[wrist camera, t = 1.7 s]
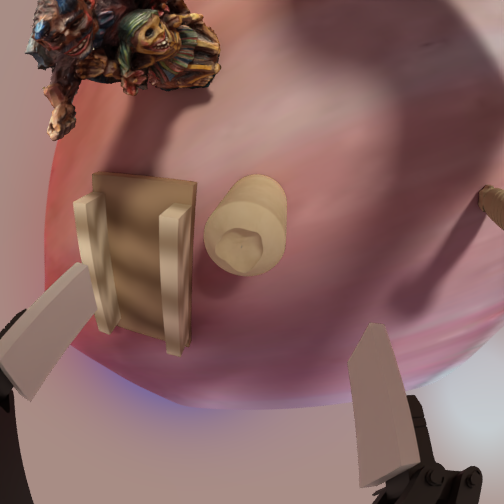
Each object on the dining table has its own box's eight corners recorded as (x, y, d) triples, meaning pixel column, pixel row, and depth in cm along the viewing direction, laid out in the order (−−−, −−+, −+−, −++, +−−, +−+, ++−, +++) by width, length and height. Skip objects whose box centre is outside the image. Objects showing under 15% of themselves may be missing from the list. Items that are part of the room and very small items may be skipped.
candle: (287, 228, 26) (285, 289, 18) (231, 229, 27) (204, 287, 18) (286, 172, 24) (284, 207, 15) (226, 174, 25) (190, 210, 16)
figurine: (257, 104, 21) (157, 43, 5) (163, 129, 23) (-6, 159, 7) (232, 6, 17) (140, -112, 1) (145, 37, 19) (0, -7, 3)
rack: (98, 171, 26) (71, 183, 22) (197, 182, 25) (179, 196, 21) (116, 319, 36) (102, 340, 32) (191, 341, 36) (181, 366, 32)
